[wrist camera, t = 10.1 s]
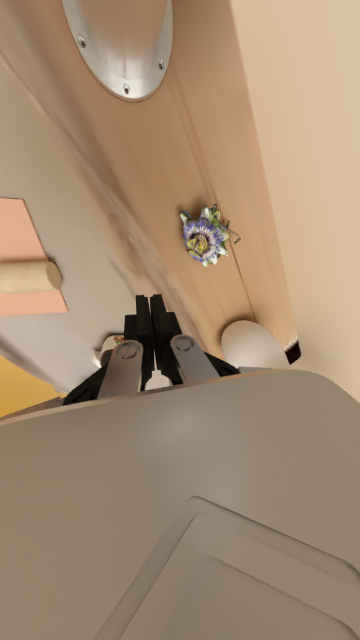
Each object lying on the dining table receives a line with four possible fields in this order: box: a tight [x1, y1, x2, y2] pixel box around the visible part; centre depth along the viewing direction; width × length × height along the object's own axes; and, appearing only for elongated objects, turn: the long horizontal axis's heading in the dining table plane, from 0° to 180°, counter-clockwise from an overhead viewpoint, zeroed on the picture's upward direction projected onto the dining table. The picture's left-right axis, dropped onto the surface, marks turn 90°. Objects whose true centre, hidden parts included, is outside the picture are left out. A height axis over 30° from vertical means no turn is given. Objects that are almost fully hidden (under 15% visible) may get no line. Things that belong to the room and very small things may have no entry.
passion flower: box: [180, 204, 241, 267], centre depth 34 cm, size 11×11×12 cm
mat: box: [0, 198, 69, 316], centre depth 31 cm, size 22×15×1 cm
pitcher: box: [221, 320, 291, 369], centre depth 51 cm, size 24×17×28 cm
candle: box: [0, 261, 62, 294], centre depth 30 cm, size 6×6×10 cm
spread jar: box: [92, 334, 124, 368], centre depth 45 cm, size 12×11×12 cm
